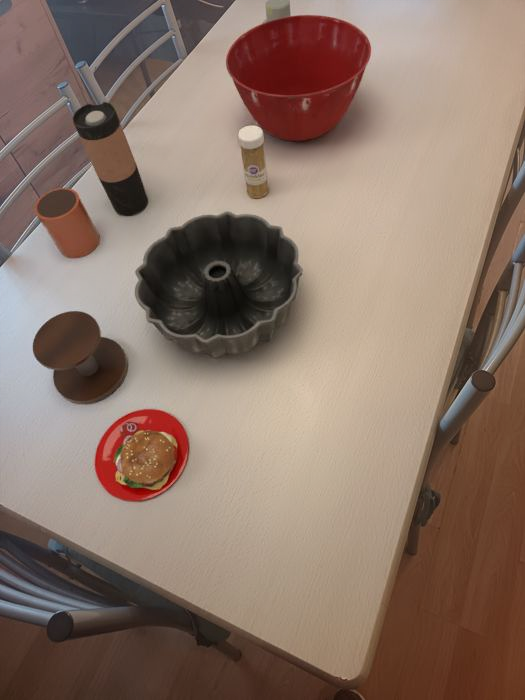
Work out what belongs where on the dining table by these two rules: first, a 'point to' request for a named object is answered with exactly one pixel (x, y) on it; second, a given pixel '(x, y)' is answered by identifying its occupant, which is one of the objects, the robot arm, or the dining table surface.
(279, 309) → the bundt pan
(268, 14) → the air freshener
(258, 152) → the sprinkles bottle
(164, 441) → the hamburger
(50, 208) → the tumbler
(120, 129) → the travel mug
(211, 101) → the dining table surface
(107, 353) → the wooden pedestal stand
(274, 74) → the mixing bowl
